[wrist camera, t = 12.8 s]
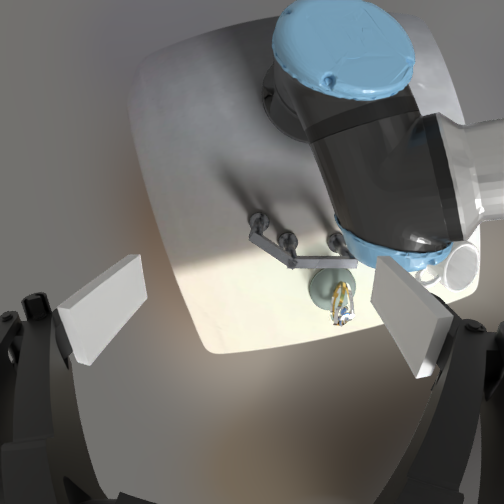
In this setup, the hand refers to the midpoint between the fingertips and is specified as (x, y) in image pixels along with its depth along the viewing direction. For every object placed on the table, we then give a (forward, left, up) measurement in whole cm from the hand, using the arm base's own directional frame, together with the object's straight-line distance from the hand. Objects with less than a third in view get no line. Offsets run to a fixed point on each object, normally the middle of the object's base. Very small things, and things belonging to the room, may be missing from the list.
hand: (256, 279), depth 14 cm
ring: (+5, +18, -28) cm, 34 cm away
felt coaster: (+5, +17, -29) cm, 34 cm away
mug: (-10, +28, -29) cm, 41 cm away
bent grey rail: (+1, +6, -29) cm, 29 cm away
